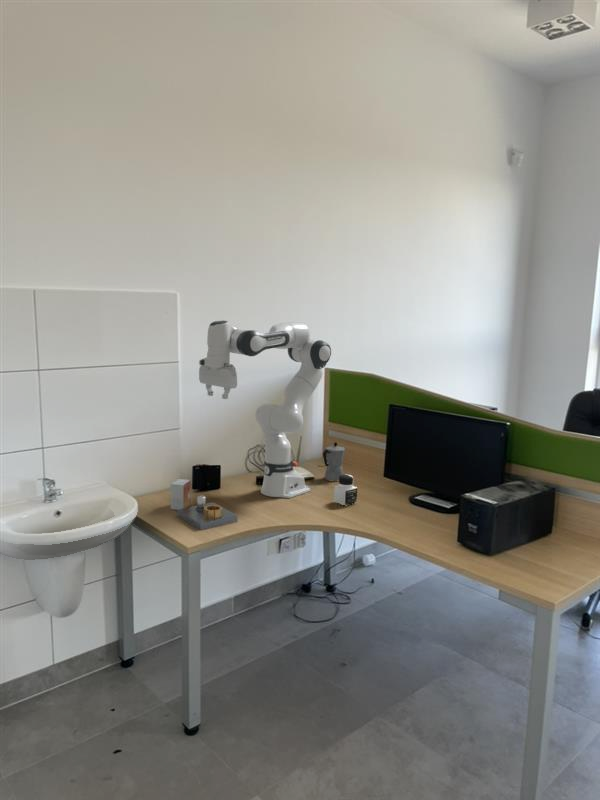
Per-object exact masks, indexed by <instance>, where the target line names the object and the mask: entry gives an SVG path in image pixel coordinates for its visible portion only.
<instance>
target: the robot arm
mask: <svg viewBox="0 0 600 800" xmlns="http://www.w3.org/2000/svg"><path fill="white" fill-rule="evenodd" d="M310 336H311V332H310V329H309V327H308V326H307V324H304V323H302V322H282V323H277V324H274V325H272V326H271V327H270V329H269V331H268V332H266V333H264V332H263V333H261V332H259V331H257V330H254V329H253V330H250V329H249V330H247V329H239V328H237V327H235V326H233V325H232V324H230V322H229V321H228V320H215V321H212V322H211V323H209V324H208V329H207V338H206V341H207V342H206V343H207V354H206V357H204V358H201V359H199V361H198V364H199V369H198V381H199V382H200V384H204V385H205V388H206V392H207V396H208V397H211V396H212V397H213V396H214V391H213V389H212V387H213V386H214V387H220V388H223V391H224V392H223V393H222V394H221V399H223V400H228V399H229V394H230V392H231V389H236V388H238V375H237V370H236V368H235V366H234V364H232V363H231V364H230V361H231V360H230V359H231V356H230V355H231V353H232V354H238V355H244V356H248V357H255V356H257V355H259V354H260V353H262V352H263V351H266V350H269V349H279V350H286V349H287V354H288V357H289V358H290V359H291V360H292V361H294V362H296V363H301V364H300V368H299V370H298V371H297V372H296V373H295V375H294V376H293V377H292V378H291V380H290V381H289V382H288V384H287V385H286V387H285V388H284V389H283V395H284V400H283V402H282V404H275V403H263V404H261V405H259V406H258V407H257V409H256V410H255V420H256V422H257V424H259V426H260V429H261V431H262V434H263V439H264V445H265V448H264V449H265V450H264V451H265V453H264V458H265V459H264V461H263V474H264V475H263V481H262V486H261V489H260V493H261V494H262V495H264V496H266V497H271V498H272V497H273V498H283V499H286V498H287V499H291V498H293V497H297V496H300V495H303V494H305V493H308V492H310V491H311V488H310V487H309V486H307V485H306V483H305V481H306V480H305V477H304V476H303V475H302V474H300V473H299V472H298V471H296V470H295V469H294V467H295V468H296V467H298V465H299V464H298V462H296V461H291V451H292V449H291V448H292V447H291V446H292V445H291V442H290V441H289V439H288V437H287V435H286V434H296V433H298V432H300V431H301V430H302V428H303V425H304V416H303V411H304V407H305V405H306V404H307V402H308V400H309V399H310V398H311V396H312V395H313V393H314V392H315V390H316V388H317V387H318V385H319V383H320V382H321V379H322V377H323V370H322V369H323V368H325V367H326V365H327V363H328V362H329V361H330V358H331V356H332V349H331V345H330V344H329V343H328V342H326V341H324V340H319V339H314V338H310Z"/></svg>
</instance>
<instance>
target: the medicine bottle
mask: <svg viewBox="0 0 600 800" xmlns="http://www.w3.org/2000/svg"><path fill="white" fill-rule="evenodd" d="M357 500H358V487H357V486H354V477H353V475H350V474H346V473H345V474H344V473H343V475H340V476H339V481H338V485H334V487H333V502H334V503H335V502H337V503H340V504H342V505H341V506H343V505H349V504H352V503H355V502H358V501H357ZM337 503H336V504H337ZM340 504H339V505H340ZM352 505H353V504H352ZM349 506H350V505H349Z"/></svg>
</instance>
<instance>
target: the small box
mask: <svg viewBox="0 0 600 800" xmlns="http://www.w3.org/2000/svg"><path fill="white" fill-rule="evenodd" d="M191 483H192V482H191V479H183V478H177V479H176V480H175V481H174V482H172V483H170V510H174V511H175V510H176V511H177V510H178V509H183V508H188V507H190V505H191V495H192V494H191V493H192V492H191V491H192V490H191Z"/></svg>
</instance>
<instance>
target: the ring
mask: <svg viewBox="0 0 600 800" xmlns="http://www.w3.org/2000/svg"><path fill="white" fill-rule="evenodd" d="M218 505H219V504H217V505H210V506H206V507H205V508H204V517H206V518H208V519H217V518H221V517H222V515H223V508H224V507H223V506H221V505H219V506H218ZM222 507H223V508H222Z"/></svg>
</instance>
